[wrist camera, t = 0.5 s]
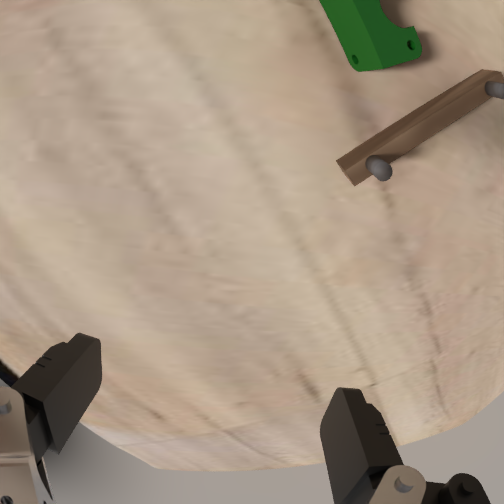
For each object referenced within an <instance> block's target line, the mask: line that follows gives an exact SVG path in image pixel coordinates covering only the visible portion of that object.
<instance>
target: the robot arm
mask: <svg viewBox="0 0 504 504" xmlns="http://www.w3.org/2000/svg"><path fill="white" fill-rule="evenodd" d="M101 381H102V364H101V343H100V340H99V339H97V338H94V337H91V336H88V335H85V334H82V333H77V334H76V335H75V336H74V337H73V338H72V339H71V340H70V341H69V342H68V343H65V342H61V343H59V344H57V345H55V346H52V347H50V348H49V349H48V350H47V351H46V352H45V353H44V354H43V355H42V357H40V358H39V359H38V360H37V361H36V363H35V364H33V365H32V366H31V367H30V368H29V369H28V370H27V371H26V372H25V373H24V374H23V375H22V376H21V377H20V378H19V380H18V381H17V382H16V383H15V384H14V385H13V386H12V387H11V388H9V387H0V504H56V502H55V499H54V495H53V492H52V489H51V485H50V482H49V478H48V474H47V470H46V466H45V462H44V459H43V455H44V453H45V452H46V450H47V449H48V450H50V451H52V452H54V453H56V454H59V453H60V451H61V450H62V448H63V446H64V445H65V443H66V441H67V439H68V438H69V436H70V435H71V433H72V432H73V430H74V428H75V427H76V425H77V424H78V422H79V420H80V419H81V417H82V416H83V414H84V412H85V411H86V409H87V408H88V406H89V404H90V403H91V401H92V400H93V398H94V397H95V395H96V394H97V392H98V390H99V388H100V385H101ZM389 433H390V432H389V430H388V428H387V426H385V421H384V419H383V417H382V415H381V413H380V412H379V411H378V410H377V409H376V408H375V407H374V406H373V405H372V404H368V403H366V401H365V398H364V396H363V394H362V392H361V390H360V389H353V388H341V387H339V388H337V389H336V391H335V392H334V395H333V397H332V399H331V401H330V404H329V406H328V408H327V410H326V412H325V414H324V416H323V419H322V421H321V426H320V437H321V442H322V446H323V451H324V456H325V460H326V465H327V470H328V474H329V479H330V484H331V489H332V494H333V499H334V504H491V503H490V501H489V499H488V497H487V495H486V493H485V491H484V489H483V487H482V485H481V483H480V482H479V481H478V480H477V479H476V478H475V477H473V476H472V475H469V474H465V473H459V474H456V475H454V476H453V477H452V478H451V479H450V480H449V481H448V482H447V483H446V484H443V483H434V482H427V481H425V479H424V477H423V476H422V474H421V473H420V472H419V471H417V470H416V469H414V468H412V467H409V466H405V465H404V464H403V462H402V460H401V457H400V455H399V453H398V450H397V448H396V446H395V444H394V441H393V439H392V437H391V435H389Z"/></svg>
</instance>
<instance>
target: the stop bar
mask: <svg viewBox="0 0 504 504" xmlns="http://www.w3.org/2000/svg"><path fill="white" fill-rule="evenodd" d="M491 97H496V98H500V99H504V78H503V75H502V73H501V72H498V71H491V70H480V71H478V72H477V73H475V74H473V75H472V76H470V77H468V78H467V79H465V80H463V81H462V82H460V83H458V84H457V85H455V86H453V87H452V88H450V89H448V90H447V91H445V92H443V93H442V94H440V95H439V96H437V97H435V98H434V99H432V100H430V101H429V102H427V103H426V104H424V105H422V106H421V107H419V108H418V109H416V110H414V111H413V112H411V113H410V114H408V115H406V116H405V117H403V118H402V119H400V120H398V121H397V122H395V123H394V124H392V125H391V126H389V127H387V128H386V129H384V130H383V131H381V132H380V133H378V134H376V135H375V136H373V137H372V138H370V139H369V140H367V141H366V142H364V143H362V144H361V145H359V146H358V147H356V148H355V149H353V150H352V151H350V152H349V153H347V154H346V155H344V156H342V157H341V158H339V159H338V160H336V162H337V163H338V165H339V166H340V168H341V169H342V171H343V172H344V174H345V175H346V177H347V178H348V179H349V180H350V181H351V183H352V184H353V185H354V186H356V185H357V184H359V183H361V182H362V181H364V180H365V179H367V178H368V177H370V176H371V175H374V176H375V177H376V178H377V179H378V180H380V181H387V180H388V179H390V177H391V176H392V168H391V166H390V165H389V164H390V163H391V162H393V161H394V160H396V159H397V158H399V157H400V156H402V155H404V154H405V153H407V152H408V151H410V150H411V149H413V148H414V147H416V146H417V145H419V144H420V143H422V142H424V141H425V140H427V139H428V138H430V137H431V136H433V135H434V134H436V133H437V132H439V131H440V130H442V129H443V128H445V127H447V126H448V125H450V124H451V123H453V122H454V121H456V120H457V119H459V118H460V117H462V116H463V115H465V114H466V113H468V112H470V111H471V110H473V109H474V108H476V107H477V106H479V105H480V104H482V103H483V102H485V101H486V100H488V99H489V98H491Z"/></svg>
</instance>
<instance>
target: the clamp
mask: <svg viewBox="0 0 504 504" xmlns="http://www.w3.org/2000/svg"><path fill="white" fill-rule="evenodd" d="M319 1H320V3H321V4H322V6H323V8H324V10H325V12H326V14H327V16H328V18H329V20H330V22H331V24H332V26H333V28H334V30H335V32H336V34H337V36H338V38H339V41H340V43H341V45H342V47H343V49H344V52H345V54H346V56H347V58H348V61H349V63H350V65H351V66H352V67H353V68H354V69H355V70H356V71H358V72H362V71H369V70H378V69H384V68H387V67H391V66H394V65H397V64H400V63H403V62H407V61H410V60H414V59H417V58H419V57H420V55H421V53H422V46H421V43H420V41H419V38H418V35H417V33H416V31H415V28H414V26H412V27H407V28H401V27H398V26H396V25H395V24H393V23H392V22H391V21H390V20H389V19H388V18H387V17H386V15H385V14H384V12H383V10H382V8H381V5H380V0H319Z"/></svg>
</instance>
